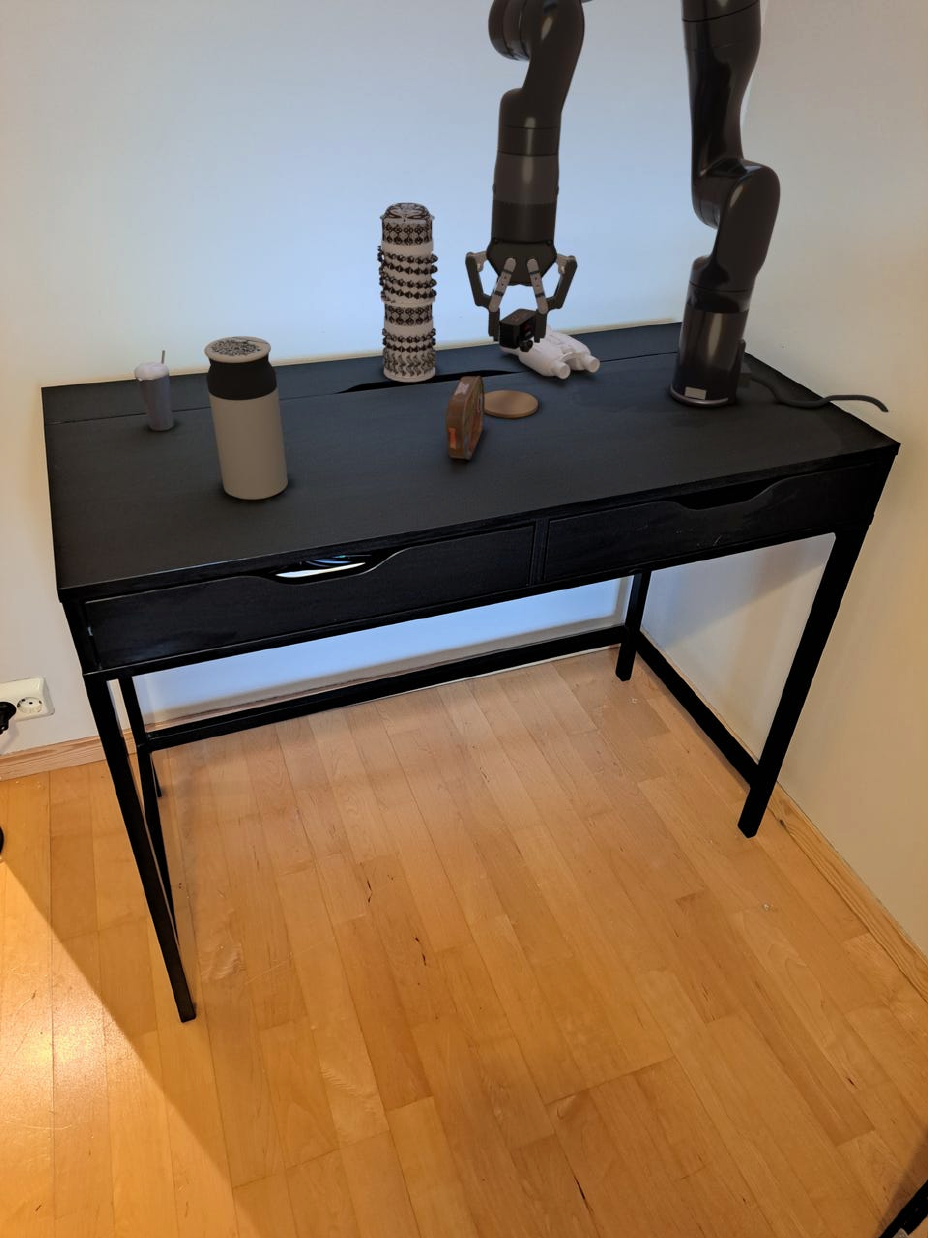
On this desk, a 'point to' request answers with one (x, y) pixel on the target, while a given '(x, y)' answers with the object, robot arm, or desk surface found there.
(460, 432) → the tin
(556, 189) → the robot arm
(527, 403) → the cork coaster
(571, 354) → the binoculars
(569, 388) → the desk surface
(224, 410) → the travel mug
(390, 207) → the decorative candle
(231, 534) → the desk surface
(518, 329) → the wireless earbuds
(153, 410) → the milkshake
